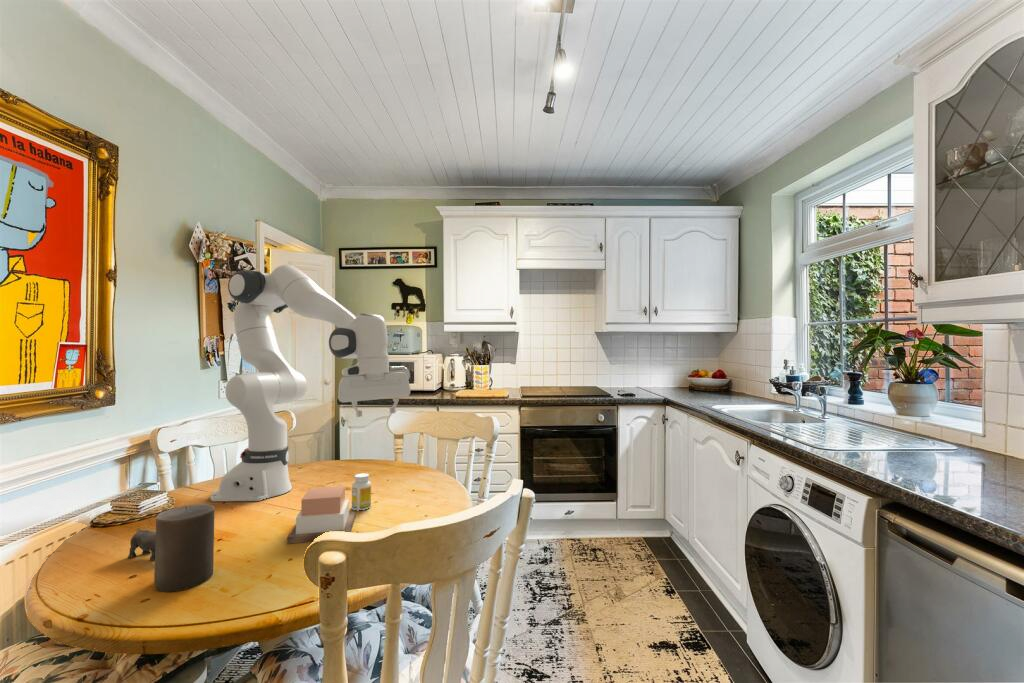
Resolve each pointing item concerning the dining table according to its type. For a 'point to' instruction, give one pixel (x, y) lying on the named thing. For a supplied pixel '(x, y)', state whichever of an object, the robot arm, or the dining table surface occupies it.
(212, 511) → the pillar candle
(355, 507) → the supplement bottle
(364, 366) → the robot arm
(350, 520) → the baseplate
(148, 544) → the rhino figurine
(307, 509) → the pink white stepped block
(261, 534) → the dining table surface
